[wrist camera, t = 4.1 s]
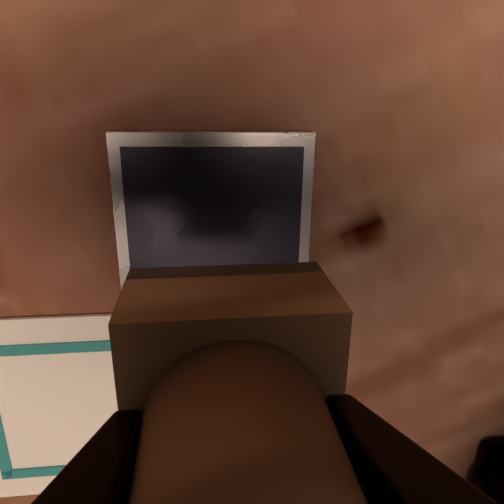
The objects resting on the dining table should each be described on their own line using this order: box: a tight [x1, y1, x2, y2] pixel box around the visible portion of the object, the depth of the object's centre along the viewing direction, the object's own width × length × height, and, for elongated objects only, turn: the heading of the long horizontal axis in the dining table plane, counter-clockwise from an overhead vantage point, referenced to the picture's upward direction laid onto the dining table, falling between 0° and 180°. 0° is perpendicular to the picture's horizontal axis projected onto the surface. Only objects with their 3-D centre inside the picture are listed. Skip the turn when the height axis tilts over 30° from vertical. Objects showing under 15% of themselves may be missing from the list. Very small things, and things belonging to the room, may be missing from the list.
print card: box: [0, 313, 118, 497], centre depth 21 cm, size 10×10×1 cm
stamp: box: [108, 262, 368, 504], centre depth 7 cm, size 4×4×7 cm
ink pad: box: [106, 130, 316, 290], centre depth 18 cm, size 8×8×1 cm
